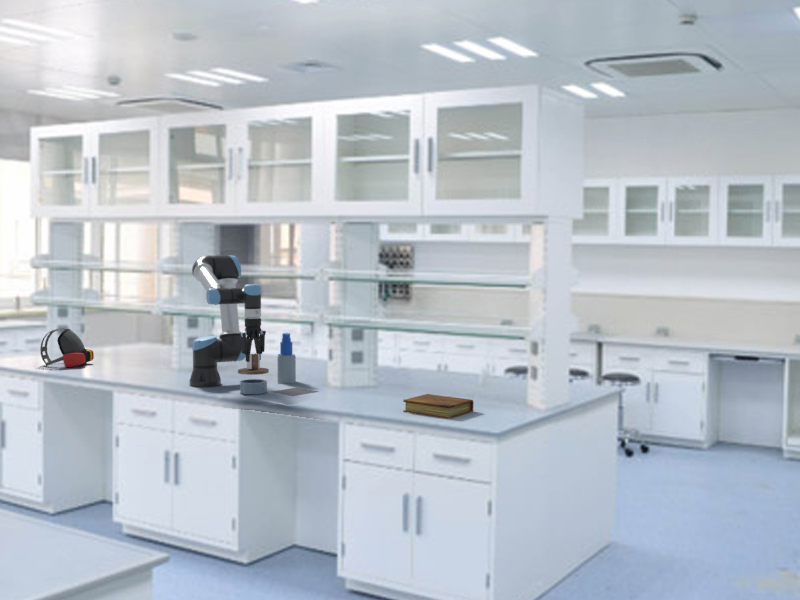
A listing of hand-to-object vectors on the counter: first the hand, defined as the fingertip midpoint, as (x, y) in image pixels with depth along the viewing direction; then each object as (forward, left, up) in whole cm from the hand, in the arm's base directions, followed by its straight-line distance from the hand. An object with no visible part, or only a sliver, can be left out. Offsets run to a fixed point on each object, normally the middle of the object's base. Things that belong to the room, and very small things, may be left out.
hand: (253, 368), depth 421 cm
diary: (+88, +29, -13) cm, 93 cm away
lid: (0, 0, -2) cm, 2 cm away
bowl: (0, 0, -12) cm, 12 cm away
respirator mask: (-146, -17, -13) cm, 148 cm away
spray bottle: (-12, +30, -12) cm, 35 cm away
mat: (+12, +15, -12) cm, 23 cm away
